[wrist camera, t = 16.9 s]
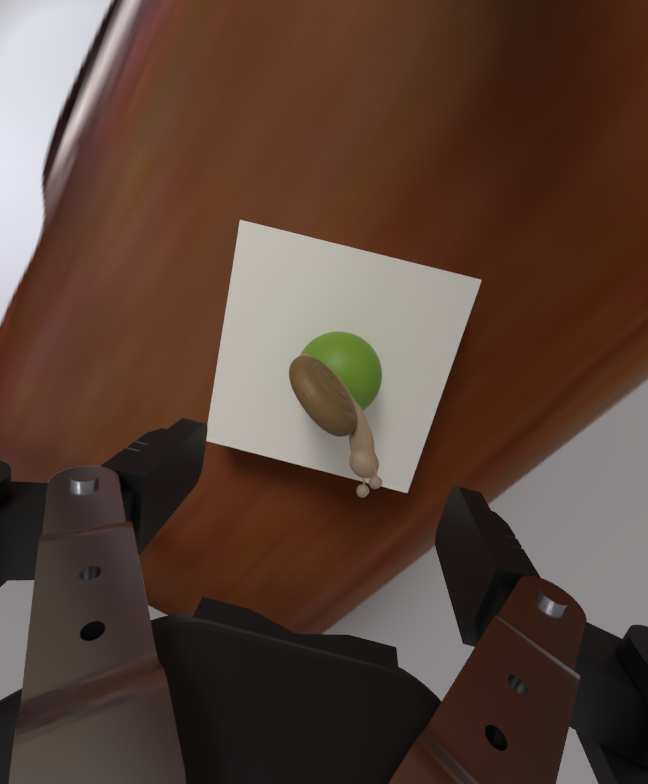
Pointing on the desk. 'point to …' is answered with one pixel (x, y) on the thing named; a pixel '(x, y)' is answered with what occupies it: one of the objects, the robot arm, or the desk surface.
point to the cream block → (324, 315)
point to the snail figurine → (341, 394)
